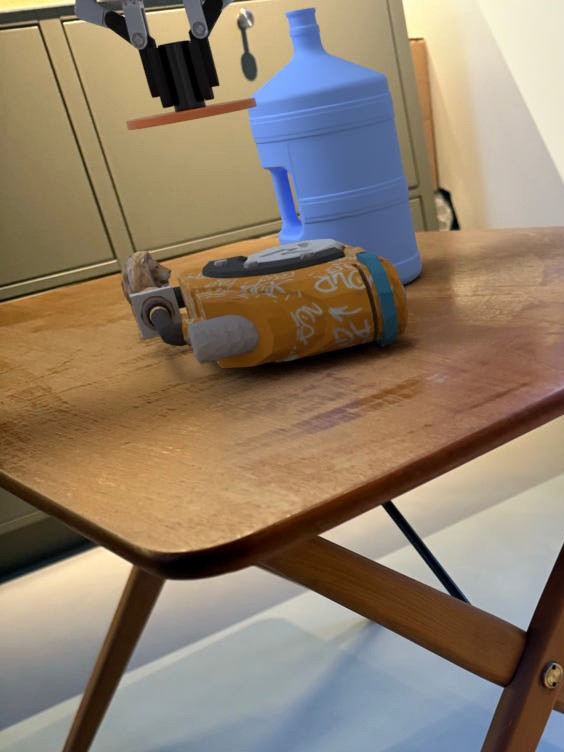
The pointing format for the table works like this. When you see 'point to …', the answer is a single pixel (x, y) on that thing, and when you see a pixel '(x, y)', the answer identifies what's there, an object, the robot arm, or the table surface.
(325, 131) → the water jug
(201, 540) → the table surface
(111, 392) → the table surface
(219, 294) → the device
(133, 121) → the lid
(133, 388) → the table surface
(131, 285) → the lion figurine
